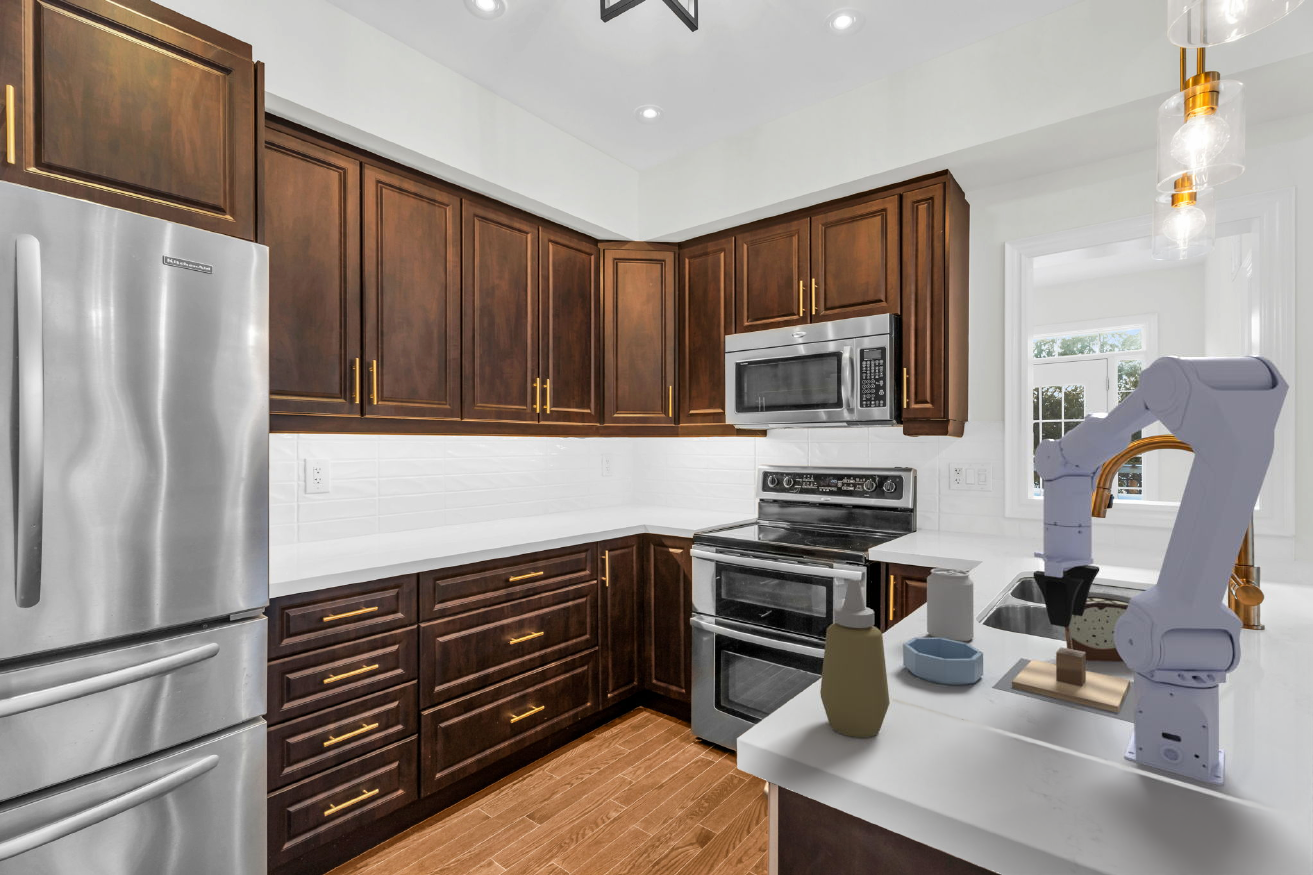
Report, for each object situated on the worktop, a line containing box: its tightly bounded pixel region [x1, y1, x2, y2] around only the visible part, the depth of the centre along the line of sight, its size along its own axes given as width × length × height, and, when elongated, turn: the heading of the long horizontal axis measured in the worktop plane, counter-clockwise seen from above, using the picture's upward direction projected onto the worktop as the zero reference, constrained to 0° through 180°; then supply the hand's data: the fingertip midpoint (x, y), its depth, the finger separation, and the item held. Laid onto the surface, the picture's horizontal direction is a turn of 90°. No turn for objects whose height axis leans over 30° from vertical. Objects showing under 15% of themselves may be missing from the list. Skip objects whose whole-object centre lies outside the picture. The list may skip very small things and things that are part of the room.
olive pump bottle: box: [819, 578, 891, 738], centre depth 75 cm, size 8×8×18 cm
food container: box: [1064, 591, 1133, 663], centre depth 100 cm, size 12×6×10 cm, turn 84°
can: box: [926, 567, 975, 643], centre depth 109 cm, size 8×8×12 cm
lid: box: [1012, 646, 1131, 713], centre depth 87 cm, size 12×12×5 cm
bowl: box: [902, 637, 984, 686], centre depth 92 cm, size 10×10×4 cm
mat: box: [991, 658, 1134, 724], centre depth 87 cm, size 16×16×1 cm
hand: (1067, 619), depth 88 cm, fingers open, 7 cm apart
